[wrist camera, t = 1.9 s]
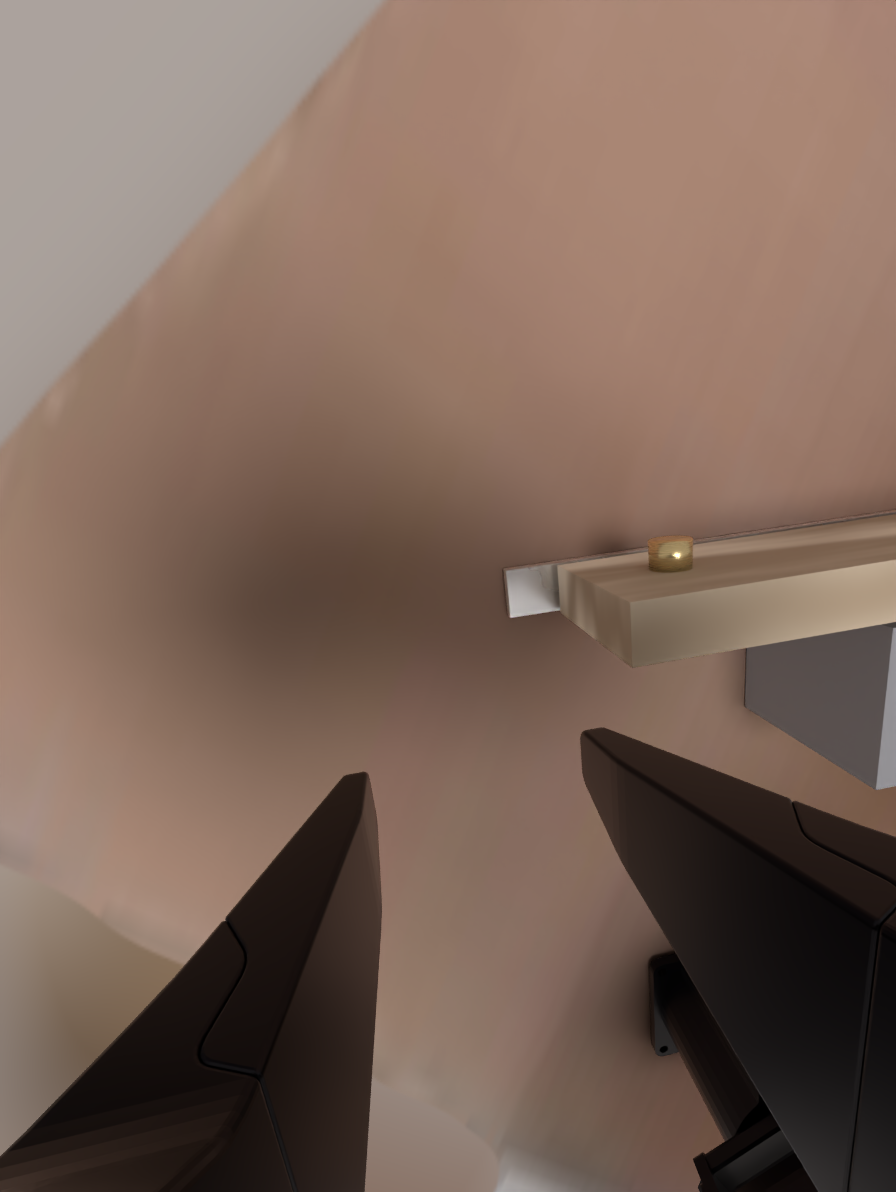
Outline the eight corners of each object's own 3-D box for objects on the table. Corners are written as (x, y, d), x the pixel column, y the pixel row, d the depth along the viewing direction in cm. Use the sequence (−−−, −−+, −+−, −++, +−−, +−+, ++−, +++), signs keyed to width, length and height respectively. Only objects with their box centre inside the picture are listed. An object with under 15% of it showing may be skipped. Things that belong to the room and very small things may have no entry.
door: (950, 550, 22) (1151, 576, 16) (560, 613, 20) (632, 667, 15) (959, 481, 21) (1174, 483, 16) (555, 540, 20) (629, 568, 14)
